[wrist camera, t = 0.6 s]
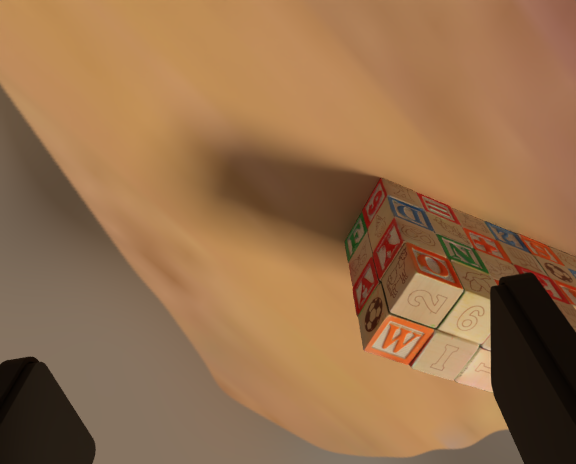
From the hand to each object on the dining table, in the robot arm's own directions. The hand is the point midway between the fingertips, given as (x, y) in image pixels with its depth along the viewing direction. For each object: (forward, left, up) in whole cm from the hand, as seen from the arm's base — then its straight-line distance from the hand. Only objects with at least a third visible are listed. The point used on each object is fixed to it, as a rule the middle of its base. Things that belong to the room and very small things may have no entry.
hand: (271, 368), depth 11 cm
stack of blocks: (+8, +20, -27) cm, 34 cm away
